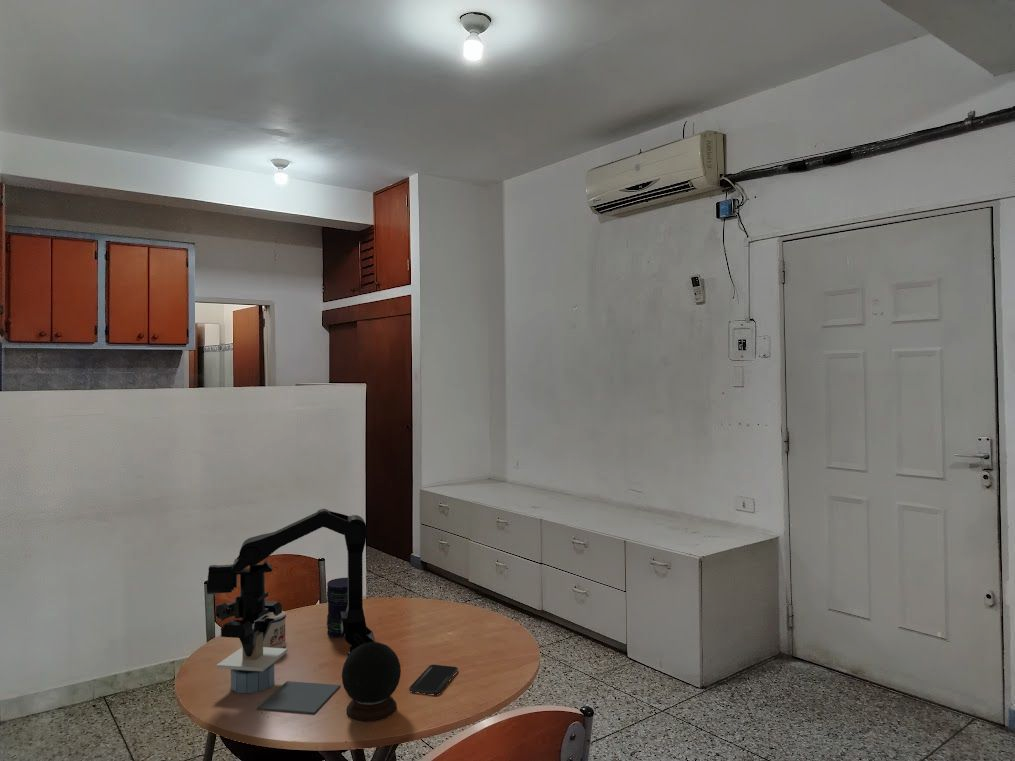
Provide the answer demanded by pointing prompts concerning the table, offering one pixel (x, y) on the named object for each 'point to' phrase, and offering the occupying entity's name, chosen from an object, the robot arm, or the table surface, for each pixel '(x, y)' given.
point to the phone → (433, 679)
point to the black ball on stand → (371, 681)
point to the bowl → (252, 680)
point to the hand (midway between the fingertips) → (253, 653)
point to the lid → (253, 657)
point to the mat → (299, 697)
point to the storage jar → (336, 605)
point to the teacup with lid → (276, 631)
